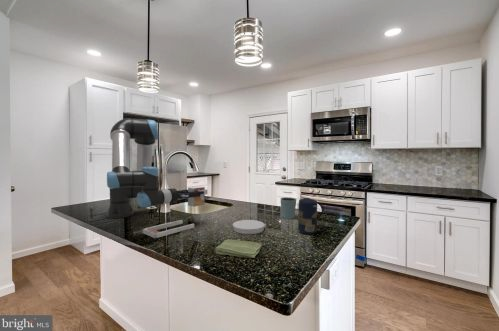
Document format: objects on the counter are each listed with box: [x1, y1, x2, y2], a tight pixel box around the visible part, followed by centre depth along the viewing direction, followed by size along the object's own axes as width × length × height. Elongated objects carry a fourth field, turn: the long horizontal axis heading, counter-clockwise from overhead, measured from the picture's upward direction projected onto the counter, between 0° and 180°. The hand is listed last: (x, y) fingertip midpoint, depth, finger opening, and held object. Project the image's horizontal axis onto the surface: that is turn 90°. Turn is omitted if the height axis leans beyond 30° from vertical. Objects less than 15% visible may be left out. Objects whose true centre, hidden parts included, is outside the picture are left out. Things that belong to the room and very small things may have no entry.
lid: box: [232, 219, 267, 235], centre depth 132 cm, size 17×20×3 cm
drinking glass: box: [280, 196, 297, 220], centre depth 156 cm, size 10×10×12 cm
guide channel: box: [142, 219, 195, 239], centre depth 128 cm, size 12×23×2 cm, turn 140°
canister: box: [297, 197, 318, 235], centre depth 126 cm, size 10×10×18 cm
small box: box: [187, 186, 206, 208], centre depth 141 cm, size 8×6×10 cm
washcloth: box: [214, 238, 263, 259], centre depth 102 cm, size 13×18×3 cm
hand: (203, 191), depth 145 cm, fingers closed on small box, 6 cm apart
